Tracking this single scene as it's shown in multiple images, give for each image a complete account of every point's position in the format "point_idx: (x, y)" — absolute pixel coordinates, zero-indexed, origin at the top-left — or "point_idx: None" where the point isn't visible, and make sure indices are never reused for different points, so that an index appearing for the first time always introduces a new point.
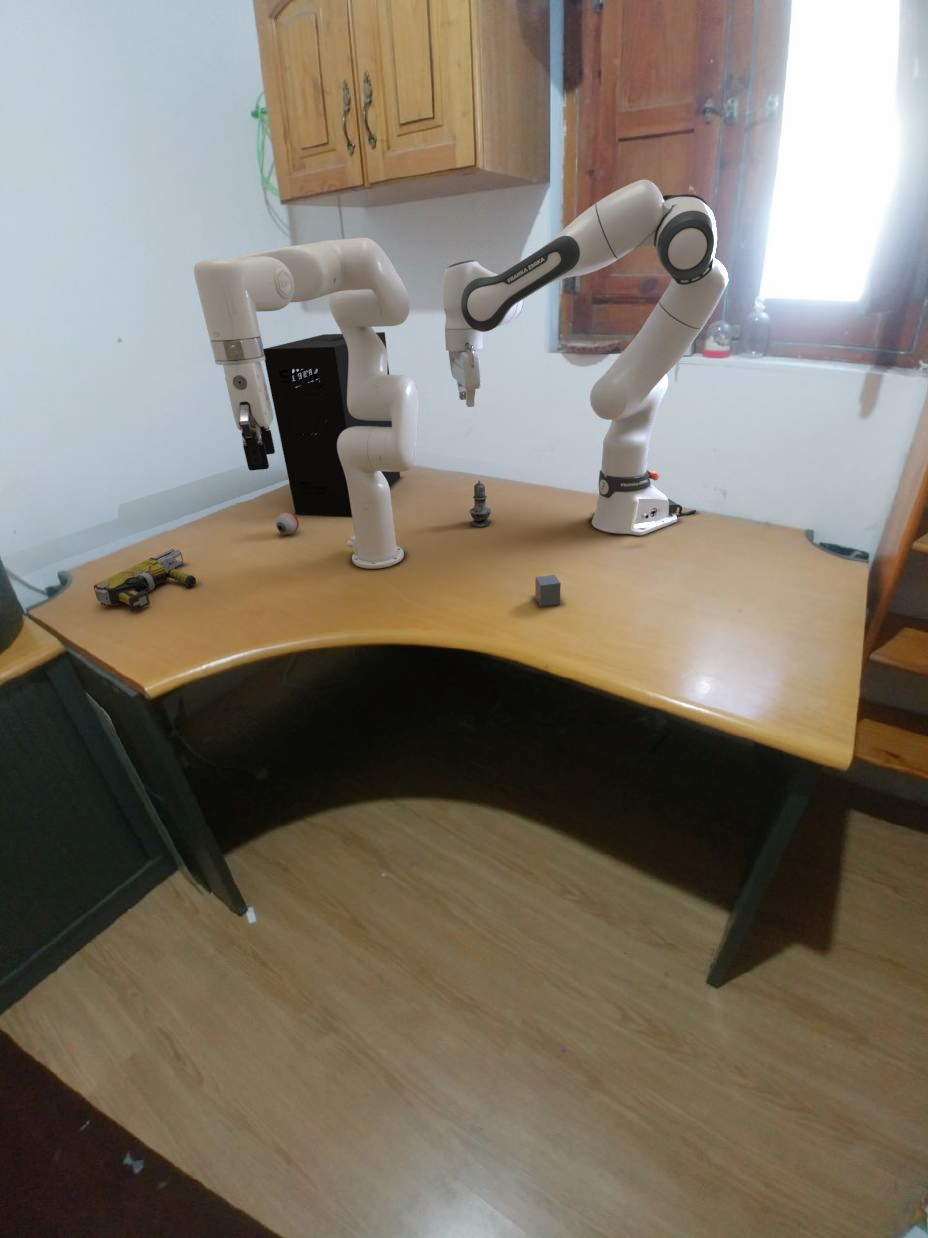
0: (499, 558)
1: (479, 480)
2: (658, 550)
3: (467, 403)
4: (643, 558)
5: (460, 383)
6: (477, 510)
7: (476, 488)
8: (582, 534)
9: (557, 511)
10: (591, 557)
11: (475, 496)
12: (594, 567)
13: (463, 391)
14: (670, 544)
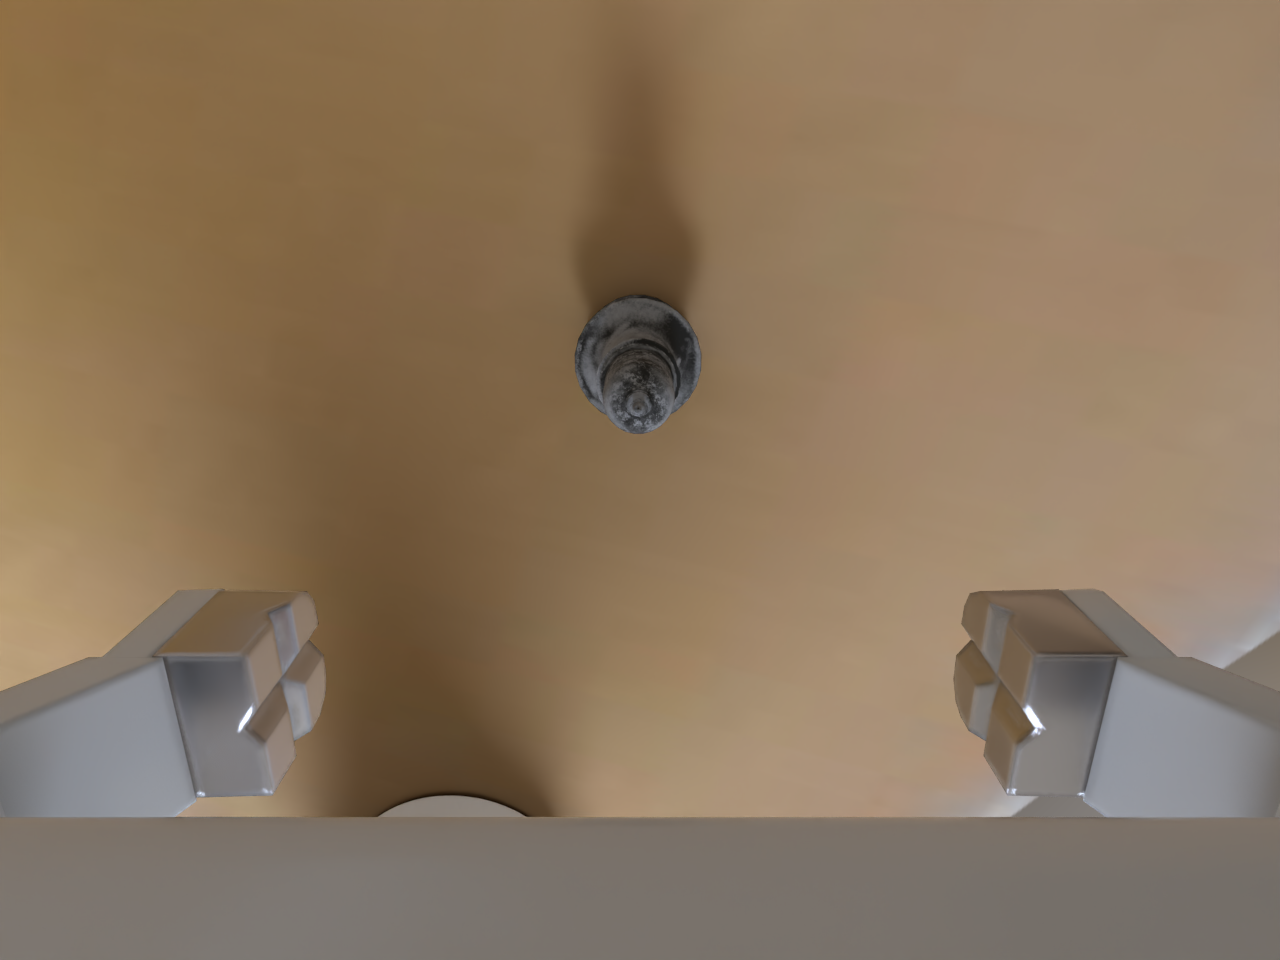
0: (167, 339)
1: (638, 411)
2: None
3: (153, 618)
4: None
5: (223, 824)
6: (604, 342)
7: (612, 372)
8: (382, 733)
9: (681, 721)
10: None
11: (624, 353)
12: (43, 674)
13: (1098, 747)
14: None
